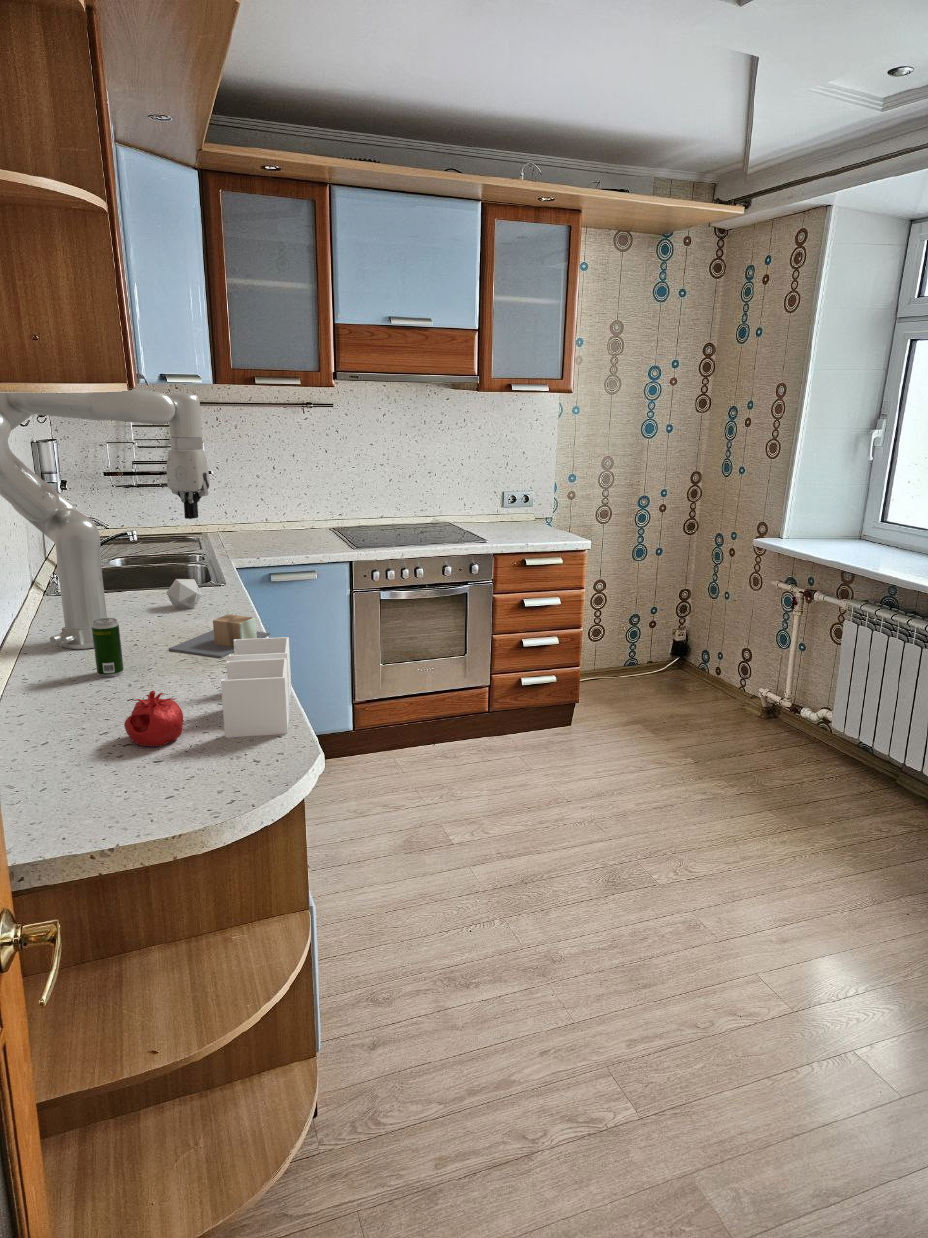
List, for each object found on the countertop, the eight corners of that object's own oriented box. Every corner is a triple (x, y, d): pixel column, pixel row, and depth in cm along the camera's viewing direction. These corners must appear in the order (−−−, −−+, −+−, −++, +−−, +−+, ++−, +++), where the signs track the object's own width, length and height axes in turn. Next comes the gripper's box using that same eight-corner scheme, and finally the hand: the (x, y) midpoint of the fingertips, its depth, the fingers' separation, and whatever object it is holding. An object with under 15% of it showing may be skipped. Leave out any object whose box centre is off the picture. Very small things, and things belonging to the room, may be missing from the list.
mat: (221, 657, 187) (220, 655, 187) (168, 650, 192) (168, 648, 192) (269, 634, 205) (269, 633, 205) (220, 628, 210) (220, 626, 210)
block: (241, 623, 191) (212, 620, 194) (242, 647, 193) (214, 644, 195) (255, 617, 197) (228, 614, 199) (257, 641, 198) (229, 637, 201)
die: (182, 615, 224) (202, 585, 225) (156, 598, 224) (176, 568, 225) (192, 618, 233) (211, 589, 234) (166, 602, 233) (186, 573, 234)
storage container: (287, 734, 146) (284, 677, 143) (225, 738, 144) (220, 680, 141) (291, 686, 170) (288, 637, 167) (237, 689, 168) (234, 639, 165)
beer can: (125, 675, 175) (119, 622, 172) (98, 679, 172) (92, 625, 169) (122, 668, 179) (116, 616, 176) (96, 671, 177) (90, 619, 174)
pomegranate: (175, 723, 150) (171, 676, 147) (193, 742, 142) (189, 692, 140) (119, 736, 144) (114, 687, 142) (135, 756, 136) (129, 705, 134)
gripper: (152, 444, 200) (158, 517, 205) (200, 446, 194) (205, 522, 199) (173, 442, 206) (178, 514, 211) (220, 445, 201) (225, 518, 206)
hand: (191, 517), depth 205 cm, fingers closed
